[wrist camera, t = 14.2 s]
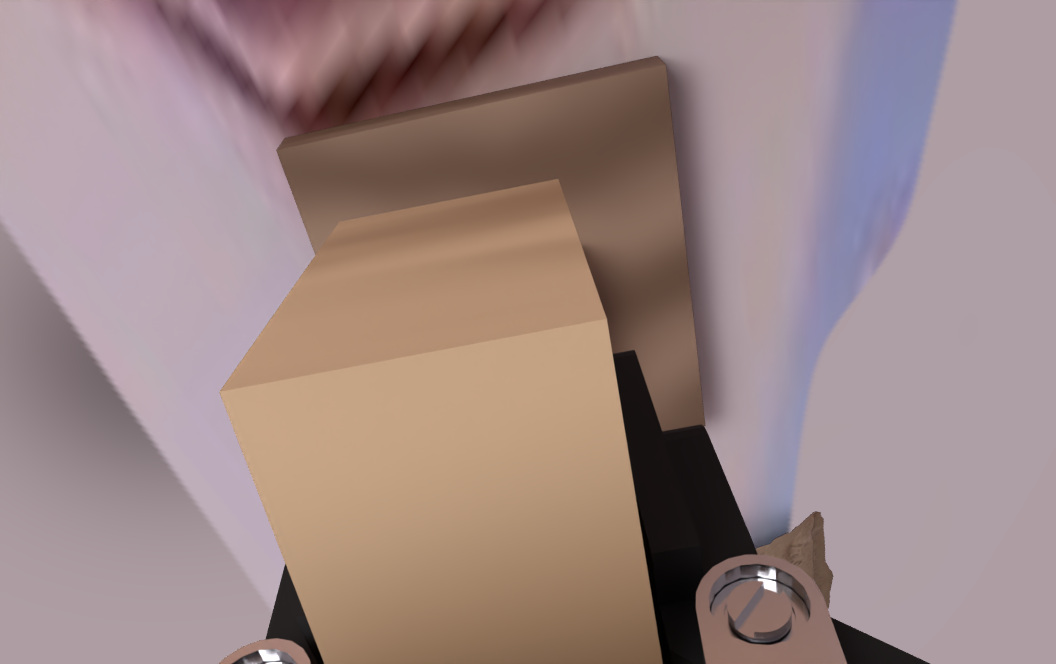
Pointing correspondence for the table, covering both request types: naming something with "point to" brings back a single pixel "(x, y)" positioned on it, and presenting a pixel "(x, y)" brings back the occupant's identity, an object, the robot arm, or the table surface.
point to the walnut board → (532, 157)
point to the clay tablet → (805, 551)
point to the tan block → (450, 442)
